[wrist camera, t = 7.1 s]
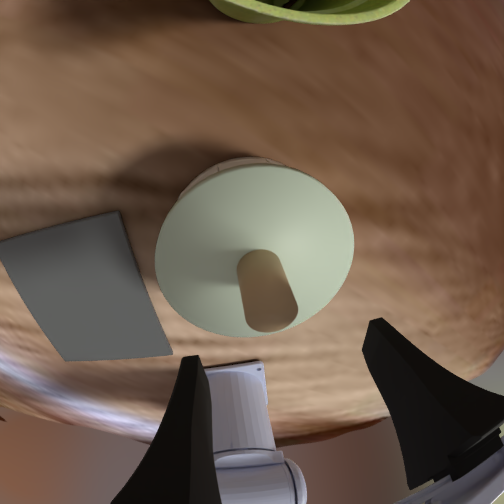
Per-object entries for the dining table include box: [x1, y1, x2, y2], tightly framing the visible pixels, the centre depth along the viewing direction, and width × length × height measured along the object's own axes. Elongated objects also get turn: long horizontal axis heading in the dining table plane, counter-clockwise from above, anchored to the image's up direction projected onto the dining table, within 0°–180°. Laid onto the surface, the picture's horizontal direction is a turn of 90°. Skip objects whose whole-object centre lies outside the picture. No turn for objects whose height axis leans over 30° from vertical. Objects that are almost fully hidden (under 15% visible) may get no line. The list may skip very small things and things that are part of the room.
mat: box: [0, 211, 173, 361], centre depth 20 cm, size 14×12×1 cm
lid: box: [155, 163, 354, 337], centre depth 15 cm, size 11×11×4 cm
